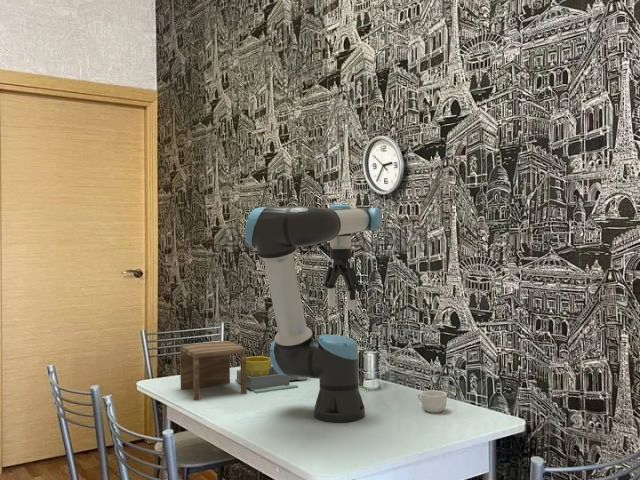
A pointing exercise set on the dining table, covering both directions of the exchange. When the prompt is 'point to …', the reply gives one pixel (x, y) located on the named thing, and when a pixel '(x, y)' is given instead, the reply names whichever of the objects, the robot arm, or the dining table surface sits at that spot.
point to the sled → (267, 380)
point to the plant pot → (258, 366)
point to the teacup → (433, 400)
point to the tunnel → (209, 365)
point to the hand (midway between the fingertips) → (341, 307)
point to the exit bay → (274, 388)
